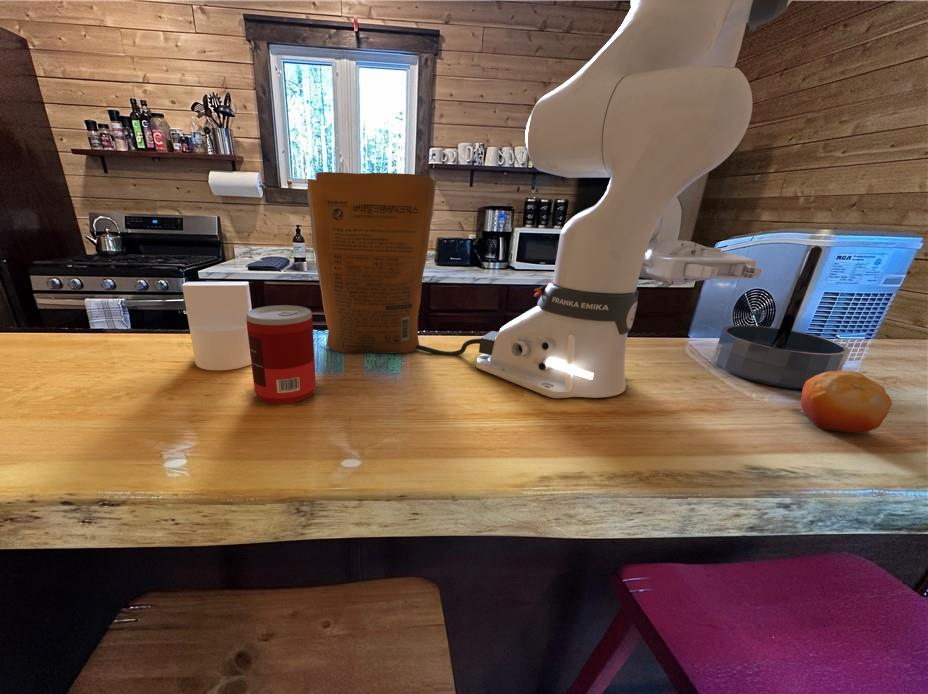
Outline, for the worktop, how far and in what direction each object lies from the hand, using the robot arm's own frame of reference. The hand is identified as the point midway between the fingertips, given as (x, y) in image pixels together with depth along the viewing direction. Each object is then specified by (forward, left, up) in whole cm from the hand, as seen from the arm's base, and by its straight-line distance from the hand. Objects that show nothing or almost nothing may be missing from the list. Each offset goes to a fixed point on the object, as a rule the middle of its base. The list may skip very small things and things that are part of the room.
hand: (736, 273), depth 78 cm
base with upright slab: (-58, -66, -15) cm, 89 cm away
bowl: (+9, -7, -15) cm, 19 cm away
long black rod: (+9, -7, -14) cm, 18 cm away
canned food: (-41, -67, -15) cm, 80 cm away
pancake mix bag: (-45, -46, -15) cm, 66 cm away
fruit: (+16, -26, -15) cm, 34 cm away
